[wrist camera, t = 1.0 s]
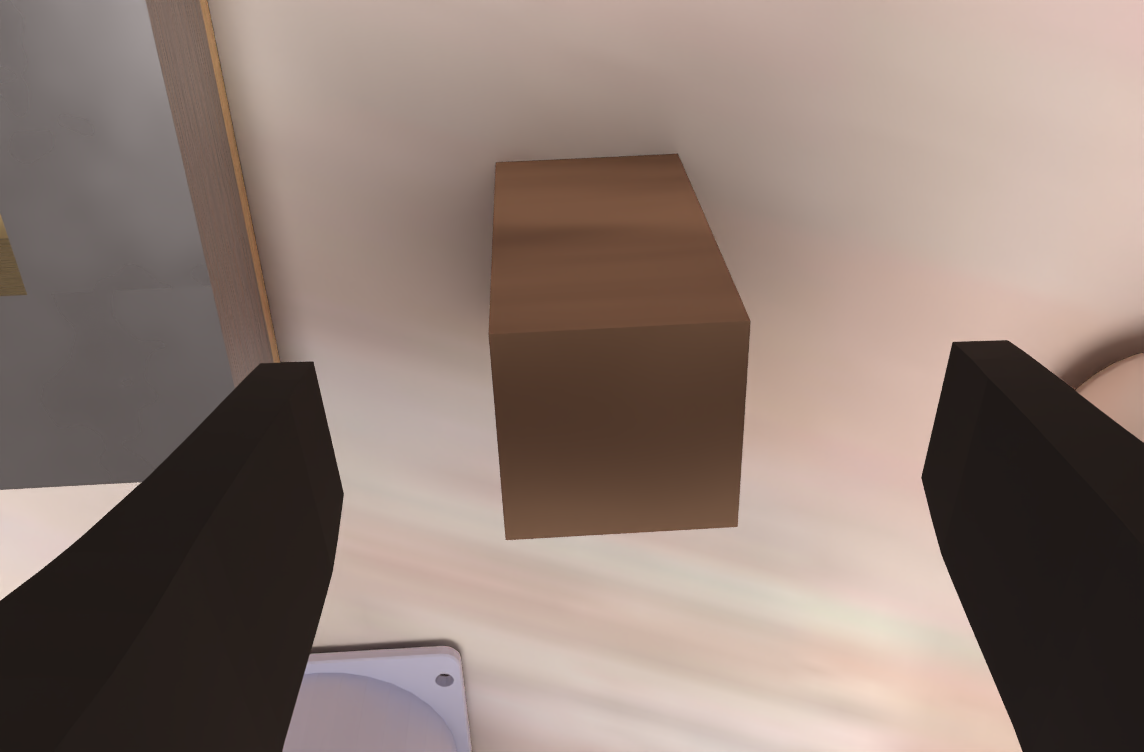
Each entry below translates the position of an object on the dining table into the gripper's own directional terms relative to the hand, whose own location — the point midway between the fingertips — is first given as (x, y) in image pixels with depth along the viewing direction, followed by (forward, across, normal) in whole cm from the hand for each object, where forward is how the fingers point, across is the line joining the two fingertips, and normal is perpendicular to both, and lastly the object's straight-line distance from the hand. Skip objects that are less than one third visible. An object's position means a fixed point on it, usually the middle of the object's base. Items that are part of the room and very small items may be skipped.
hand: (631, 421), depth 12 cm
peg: (+12, 0, +4) cm, 12 cm away
